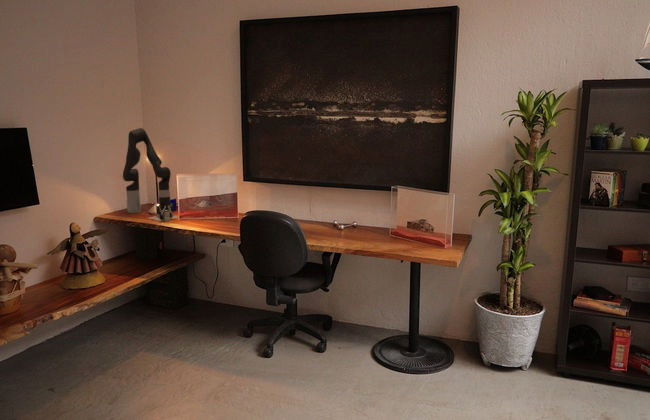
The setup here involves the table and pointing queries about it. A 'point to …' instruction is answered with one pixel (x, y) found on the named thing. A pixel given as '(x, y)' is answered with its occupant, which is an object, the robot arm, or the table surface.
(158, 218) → the mat
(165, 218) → the block
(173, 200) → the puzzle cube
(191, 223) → the table surface
